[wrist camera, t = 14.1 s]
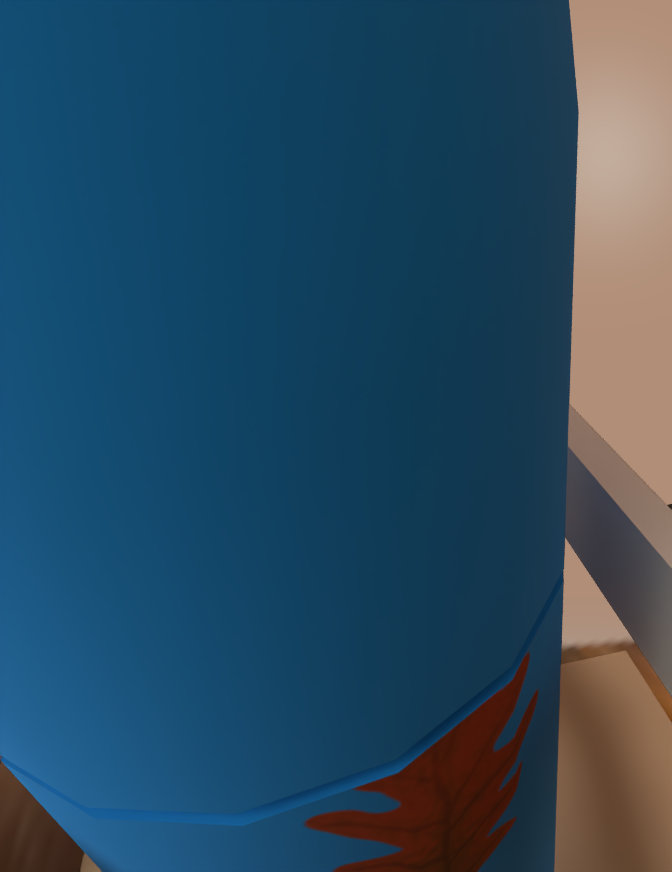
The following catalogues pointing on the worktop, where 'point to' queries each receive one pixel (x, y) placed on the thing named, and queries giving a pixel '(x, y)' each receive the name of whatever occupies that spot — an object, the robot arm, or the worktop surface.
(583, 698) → the stool
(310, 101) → the thermos
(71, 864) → the worktop surface
